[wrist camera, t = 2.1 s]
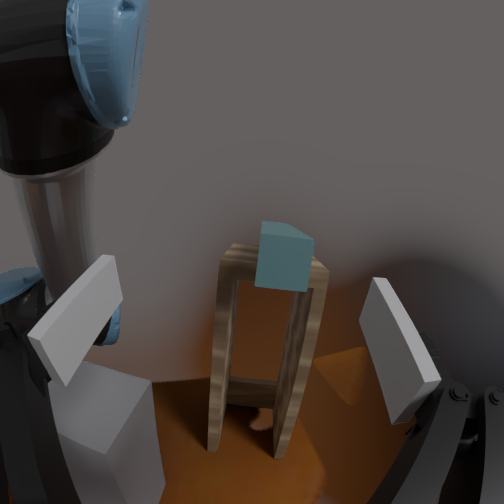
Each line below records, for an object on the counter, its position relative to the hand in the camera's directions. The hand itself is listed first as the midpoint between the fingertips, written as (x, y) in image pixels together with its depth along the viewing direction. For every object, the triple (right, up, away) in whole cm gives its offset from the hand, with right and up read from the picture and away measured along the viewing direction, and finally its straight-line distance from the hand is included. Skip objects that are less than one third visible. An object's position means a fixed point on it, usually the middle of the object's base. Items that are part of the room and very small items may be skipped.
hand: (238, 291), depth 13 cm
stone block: (-16, -30, +8) cm, 35 cm away
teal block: (+3, +1, +19) cm, 20 cm away
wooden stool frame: (0, -29, +29) cm, 41 cm away
